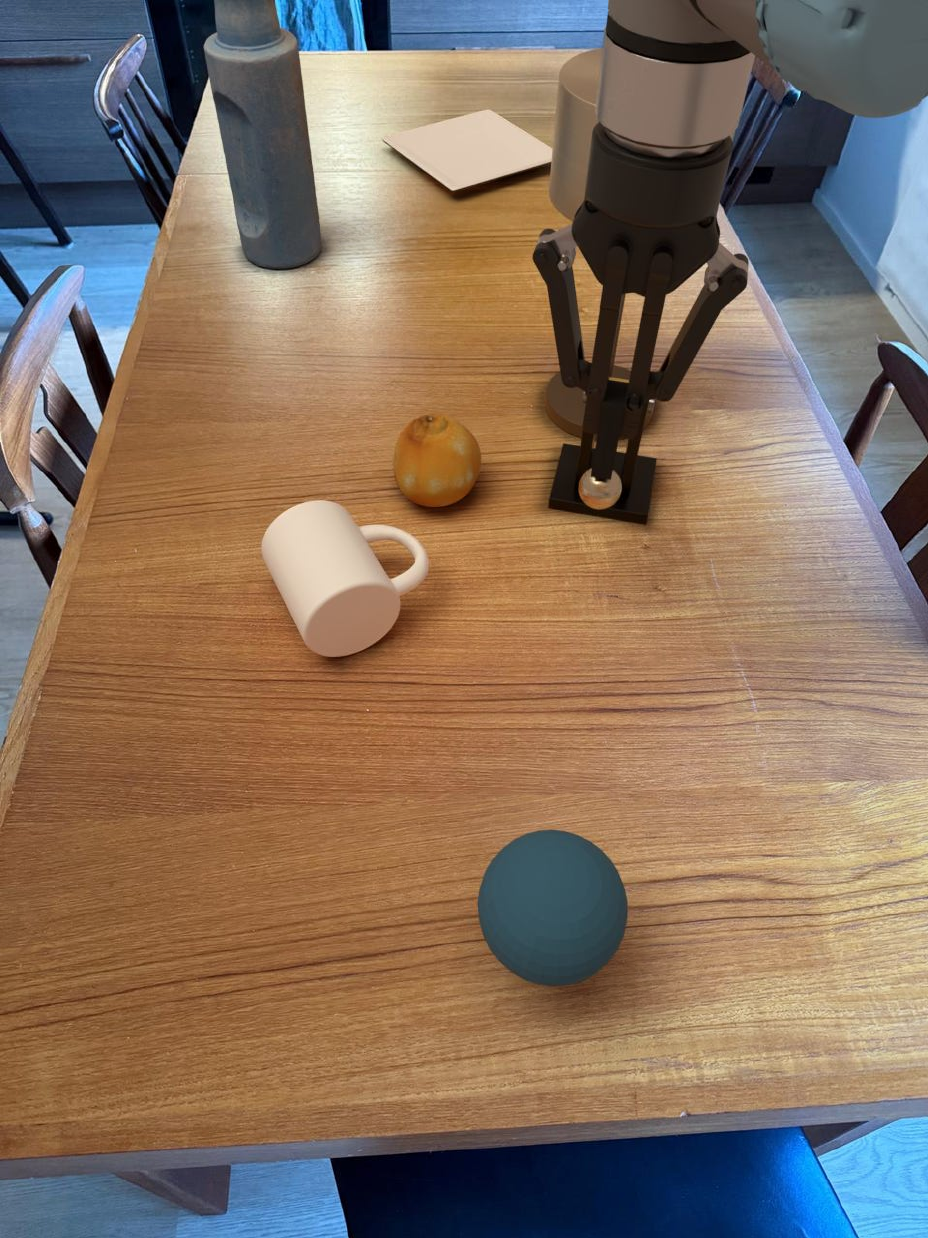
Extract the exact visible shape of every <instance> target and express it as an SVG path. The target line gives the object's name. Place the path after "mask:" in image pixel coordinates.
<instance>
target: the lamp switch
mask: <svg viewBox="0 0 928 1238" xmlns="http://www.w3.org/2000/svg"><path fill="white" fill-rule="evenodd" d="M609 380H613V381H620V382H626V383H629V380H625V379H618V378H612V377H610V378H609ZM591 471H592V468H591V469H589V470H588V471H586V472H585V473H584V474H583V476H582V477H581V479H580V482H579V494H580V497H581V499H582V500H583V502H584V503H585V504H586V505H588V506H589V507H591V508H594V509H606V508H608V507H610V506H612V505H613V504H615V503H616V502H617V500H618V499H619V497H620V495H621V491H622V484H621V480H620V478H619V476H618V474H617V473H616V472H615V471H614V470H613V472H612V477H611V480H608V479H602V478H596V477H591Z"/></svg>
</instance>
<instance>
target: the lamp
mask: <svg viewBox="0 0 928 1238" xmlns="http://www.w3.org/2000/svg"><path fill="white" fill-rule="evenodd" d="M601 54H602V47H599V48H595V49H591V50H587V51H584V52H582V53H581V52H580V53H578V54H577V55H574V56H572V57H571V58H570V59H568V60H567V61H566V62H564V64H563V65H562V66H561V68H560V70H559V74H558V84H557V95H556V104H555V106H556V107H555V118H554V128H553V129H554V130H553V141H552V149H553V150H552V161H551V164H550V175H549V185H548V186H549V187H548V197H549V200H550V202H551V204H552V206H553V208H554V209H556V211H557V212H558V213H559V214H560V215H562V216H563V217H564V218H566V219H567V220H569V221H570V222H571V223H573V220H574V217H575V214H576V212H577V210H578V209H579V207H580V206H581V205H582V203H583V201H584V196H585V187H586V179H587V171H588V163H589V155H590V146H591V138H592V131H593V129H594V127H595V125H596V124H597V123H598V122H599V120H598V119H597V117H596V114H595V106H596V97H597V88H598V80H599V71H600V62H601ZM735 134H736V131H735V132H734V133H732V134H731V135H730V137H731V139H732V142H733V143H734V138H735ZM626 295H627V294H623V299H622V305H621V311H620V317H619V322H618V328H617V334H616V340H615V345H614V351H613V357H612V363H611V370H610V374H609V378H610V377H612V378H618V379H625V380H629V379H630V374H631V369H628V368H626V367H623V366H620V365H617V364H615V360H616V355H617V348H618V342H619V337H620V330H621V325H622V319H623V314H624V313H623V312H624V308H625V307H624V306H625V301H626ZM608 380H609V379H608ZM583 392H584V391H583V390H582V389H580V388H578V387H574V388H568V387H566V386H565V385H564V384H563V383H562V379H561V373H560V371H558V372H556V373H555V374H554V375H553V376H552V377H551V378H550V380H549V381H548V383H547V386H546V390H545V396H544V397H545V398H544V408H545V411H546V413H547V415H548V417H549V419H550V420H551V421H552V422H553V423H554V425H556V426H557V427H558V428H559V429H561V430H563V431H564V432H565V433H567V434H570V435H572V436H574V437H577V438H580V439H581V438H582V431H583V419H584V412H585V406H586V403H582V398H583ZM655 406H656V401H655V402H654V407H653V412H652V413H647V414H646V418H645V423H644V428H643V430H645V429H646V427H647V426H649V424H650V422H651V420H652V418H653V414H654V410H655ZM597 435H598V434H596V435H595V441H597ZM625 439H626V438H619V440H618V441H622V440H625Z"/></svg>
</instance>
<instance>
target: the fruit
mask: <svg viewBox="0 0 928 1238" xmlns="http://www.w3.org/2000/svg"><path fill="white" fill-rule="evenodd" d="M481 465H482V452H481V448H480V445H479V443H478V440H477V439H476V437H475V436H474V435H473V433H472V432H471V431H470V430H469V429H468V428H467V427H466V426H465V425H464V424H463V423H461V422H460V421H459V420H457V419H456V418H454V417H452V416H449V415H447V414H446V415H445V414H442V413H428V414H425V415H422V416H420V417H419V416H418V417H417V418H415V419H413V420H411V421H410V422H409V423H408V424H407V425H406V427H405V428H404V429H403V430H402V431H401V432H400V434H399V436H398V438H397V440H396V441H395V445H394V449H393V455H392V470H393V476H394V479H395V482H396V485H397V487H398V489H399V490H400V492H401V493H402V494H403V496H405V498H407V499H408V500H409V501H411V502H413V503H415V504H417V505H419V506H423V507H429V508H441V507H447V506H450V505H452V504H455V503H457V502H459V501H460V500H462V499H463V498H465V496H467V495H468V494H469V493H470V491H471V490H472V489H473V487H474V486H475V484H476V482H477V480H478V477H479V475H480V473H481Z"/></svg>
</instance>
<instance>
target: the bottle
mask: <svg viewBox="0 0 928 1238" xmlns="http://www.w3.org/2000/svg"><path fill="white" fill-rule="evenodd" d="M274 1H275V0H213V3H214V17H215V18H214V19H215V29H216V32H214V33H213V34H211V35H210V36H208V37H207V38H206V40H205V41H204V44H203V51H204V59H205V63H206V68H207V75H208V79H209V85H210V90H211V95H212V100H213V103H214V107H215V108H214V109H215V114H216V119H217V123H218V128H219V134H220V139H221V143H222V149H223V154H224V159H225V166H226V170H227V175H228V181H229V186H230V190H231V195H232V201H233V208H234V214H235V215H234V216H235V219H236V226H237V229H238V234H239V240H240V243H241V245H240V246H241V250H242V253H243V255H244V256H245V258H246V259H247V260H248V261H250V262H251V263H252V264H254V265H255V266H257V267H262V268H266V269H273V270H287V269H291V268H297V267H300V266H303V265H306V264H307V263H309V262H312V261H313V260H314V259H315V258H317V256H319V254H320V253H321V251H322V245H323V241H322V233H321V223H320V213H319V206H318V197H317V189H316V181H315V172H314V164H313V157H312V149H311V140H310V134H309V125H308V116H307V110H306V100H305V92H304V91H305V90H304V82H303V73H302V67H301V66H302V65H301V58H300V51H299V44H298V39H297V37H296V36H295V35H294V34H293V33H292V32H291V31H289V30H287V29H285V28H282V27H281V25H280V19H279V16H278V12H277V7H276V4H275V2H274Z"/></svg>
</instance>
